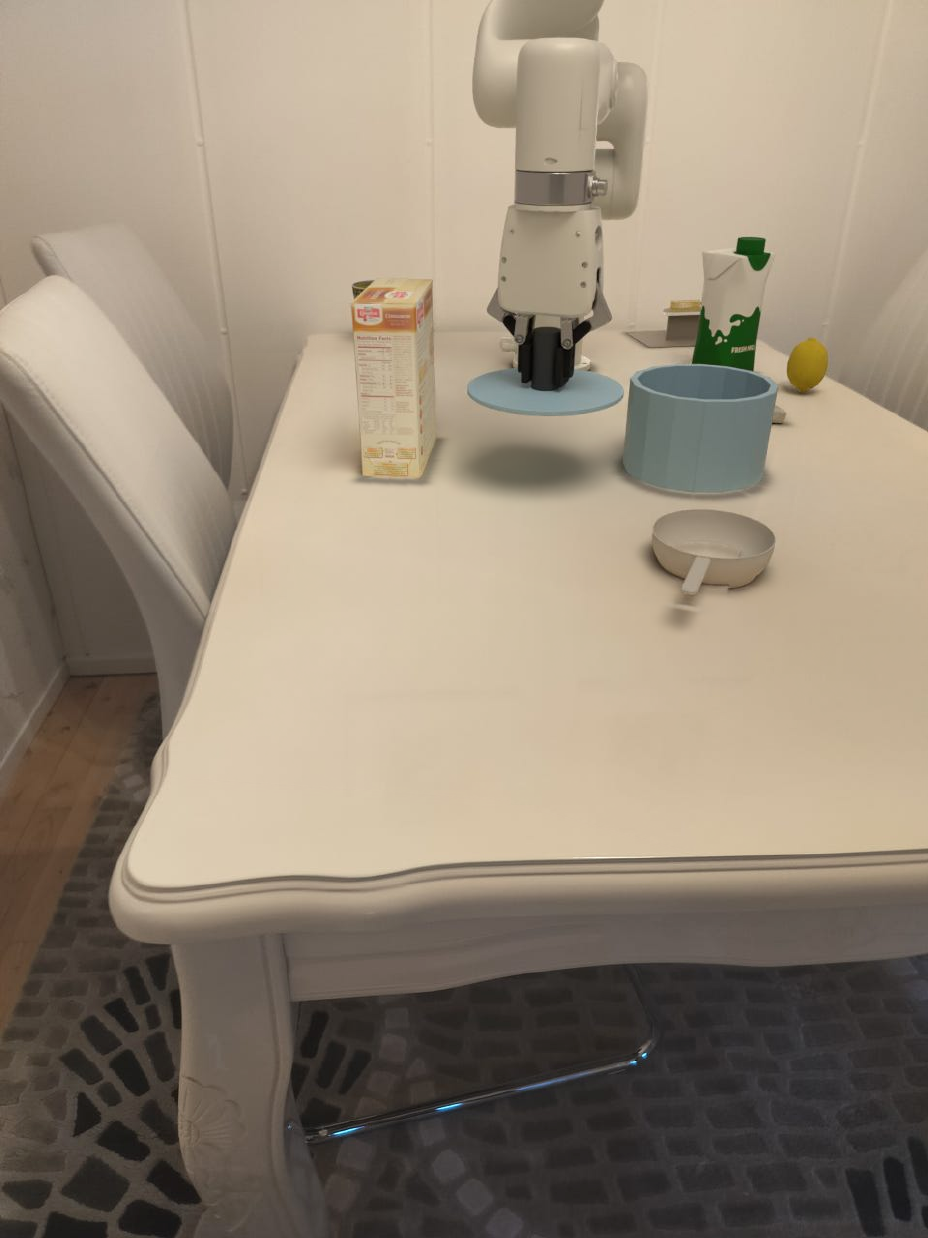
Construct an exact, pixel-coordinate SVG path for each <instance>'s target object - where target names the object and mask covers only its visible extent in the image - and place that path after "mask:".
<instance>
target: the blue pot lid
mask: <svg viewBox="0 0 928 1238" xmlns="http://www.w3.org/2000/svg"><path fill="white" fill-rule="evenodd" d="M560 341H561V329H560V328H557V327H537V328H534V329H533V345H532V373H531V381H530V382H528V383H527V384H526V383H521V373H519V372H518V368H514V367H512V368H504V369H499V370H494V371H490V372H487V373H483V374H481V375H478V376H477V377H474V378H473V379H472V380H470V381H469V383H468V384H467V386H466V393H467V396H468V398H469V399H470V400H471V401H473V402H475V403H476V404H478V405H480V406H482V407H485V408H488V409H490V410H495V411H499V412H504V413H507V414H514V415H521V416H522V415H523V416H536V417H567V416H577V415H578V416H579V415H586V414H592V413H595V412H600V411H603V410H607V409H610V408H611V407H614V406H615V405H618V404H619V403H620V402H621V401H622V400H623V398H624V393H625V389H624V387H623V385H622V384H621V383H620V382H618V380H615V379H614V378H612V377H608V376H606V375H604V374H601V373H597V372H593V371H590V370H588V371H584V370H578V369H574V374H573V376H572V378H569V381H568V382H567V383H566V384H565V385H563V386H562V387H556V386H555V385H554V380H555V359H556V350H557V349H558V348H559V347H560Z"/></svg>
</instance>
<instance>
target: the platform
mask: <svg viewBox="0 0 928 1238" xmlns="http://www.w3.org/2000/svg"><path fill="white" fill-rule="evenodd" d="M686 302H687V303H686ZM700 309H701V300H695V301H692V299H685V300H681V299H679V300H670V306H669V308H664V309H663V310H662V315H663V316H664V317H667V323H666V331H654V332H653V331H652V332H628V333H627V335H629V336H630V337H632V338H634V339H635V340H637V341H638V342H640V343H642V344H643V345H644V346H646V347H648V348H673V347H693V346H694V347H695V344H696V339H697V332H698V325H699V317H700Z"/></svg>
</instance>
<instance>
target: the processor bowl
mask: <svg viewBox="0 0 928 1238" xmlns="http://www.w3.org/2000/svg"><path fill="white" fill-rule="evenodd" d="M779 387H780V385H779V384H778V383H777V382H775V381H774V380H773V379H772V378H771V377H769V376H766V375H764V374H761V373H759V372H755V371H754V372H753V371H748V370H743V369H738V368H733V367H728V366H717V365H706V364H691V363H673V364H663V365H654V366H650V367H647V368H643V369H640V370H636V371H635V372H634V373H633V374H632V375H631V377H630V378H629V389H628V399H627V411H626V420H625V432H624V443H623V455H622V465H623V467H624V470H625V472H626V473H627V474H628V475H630V476H632V477H633V478H635V479H637V480H638V481H640V482H642V483H646V484H649V485H651V486H654V487H658V488H661V489H665V490H671V491H679V492H686V493H692V494H693V493H695V494H697V493H698V494H699V493H700V494H704V493H705V494H709V493H710V494H711V493H713V494H717V493H718V494H719V493H720V494H723V493H728V492H735V491H740V490H746V489H748V488H750V487H752V486H754V485H756V484H758V483H760V482H761V481H762V478H763V475H764V472H765V466H766V460H767V454H768V449H769V443H770V437H771V432H772V425H773V423H772V421H773V415H774V409H775V405H776V403H777V397H778V391H779Z"/></svg>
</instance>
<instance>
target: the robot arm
mask: <svg viewBox="0 0 928 1238" xmlns="http://www.w3.org/2000/svg"><path fill="white" fill-rule="evenodd" d="M604 3H605V0H490V1H489V3H488V4H487V6H486V7H485V9H484V12H483V14H482V16H481V19H480V22H479V25H478V30H477V34H476V44H475V51H474V57H473V64H472V65H473V66H472V76H471V77H472V78H471V81H472V82H471V83H472V85H471V86H472V87H471V91H472V92H471V93H472V101H473V105H474V109H475V112H476V114H477V116H478V118H479V119H480V120H481V121H482V122H483V123H484V124H485V125H487V126H489V127H491V128H496V129H515V147H514V148H515V151H514V196H513V197H514V198H513V201H514V202H513V204H512V205H509V206H507V210H506V215H505V220H504V223H503V224H504V225H503V229H502V230H503V231H502V237H501V243H500V252H499V262H498V273H497V288H496V290H495V292H494V294H493V295H492V298H491V299H490V301H489V303H488V305H487V307H486V313H487V314H488V315H489V316H491V317H492V318H493V319H495V320H496V321H498V322H499V323H502V324H503V326H504V327H505V328H506V330H507V331H508V332H509V333H510V335H511V336H512V337H506V336H505V337H504V336H502V337H501V338H500V340H499V348H500V350H501V351H502V352H506V353H510V352H512V353H515V355H516V356H515V357H514V358H513V360H512V368H518V372H519V373H521V383H526V384H527V383H528V382H530V381H531V373H532V345H533V329H534V328H537V327H557V328H560V329H561V341H560V347H559V348H558V349H557V350H556V359H555V380H554V385H555V386H556V387H562V386H563V385H565V384H566V383H567V382H568V381H569V378H572V376H573V374H574V369H578V370H584V371H590V369H591V364H592V363H591V362H592V361H591V360H590V358H588V357H587V356H585V355H582V354H583V339H584V337H586V336H587V335H588V333H590V332H593V331H595V330H597V329H600V328H602V327H604V326H605V325H607V324H609V323H610V322H611V321H612V320H613V315H612V313H611V310H610V308H609V305H608V303H607V300H606V298H605V296H604V278H605V277H604V276H605V275H604V273H605V272H604V270H605V269H604V268H605V267H604V266H605V265H604V263H605V261H604V260H605V259H604V257H605V253H604V229H603V221H623V220H626V219H628V218H631V216H633V215H634V213H635V212H636V210H637V208H638V205H639V201H640V198H641V191H642V183H643V182H642V181H643V174H644V173H643V172H644V162H645V152H646V151H645V150H646V142H647V141H646V140H647V132H648V129H647V128H648V120H649V110H650V109H649V106H650V87H649V80H648V76H647V73H646V71H645V70H644V69H643V67H641V66H640V65H639V64H636V63H633V62H628V61H627V62H626V61H620V62H619V61H617V60H616V59H615V58H614V57H615V56H614V55H613V53H612V50H611V49H610V48H609V47H608V46H607V44H605V43H604V42H602V41H599V37H600V36H599V35H600V19H599V15H598V14H599V12H600V11H601V9H602V7H603V6H604ZM597 142H608V143H609V144H611V145H612V147H613V148H597V147H596V146H597V145H596V144H597ZM591 311H592V312H593V314H592V316H590V317H589V318H585V317H586V316H587V315H589V314H591Z"/></svg>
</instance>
